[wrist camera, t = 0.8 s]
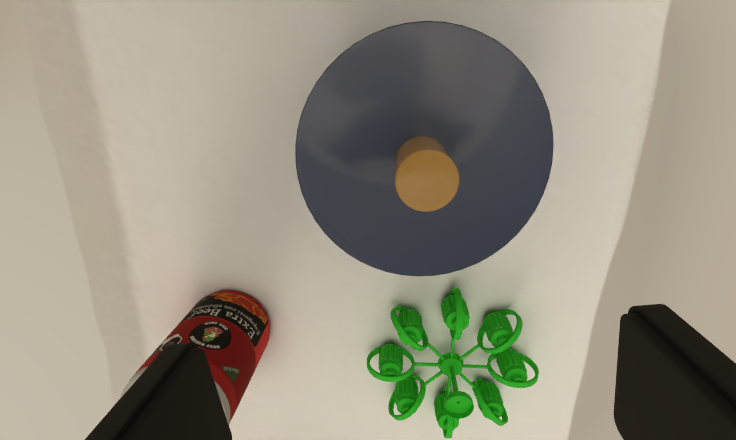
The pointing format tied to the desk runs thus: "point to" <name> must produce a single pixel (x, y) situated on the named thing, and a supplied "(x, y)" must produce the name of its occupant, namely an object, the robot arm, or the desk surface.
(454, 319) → the chandelier
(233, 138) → the desk surface
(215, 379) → the canned food
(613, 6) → the desk surface
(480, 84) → the tin lid
